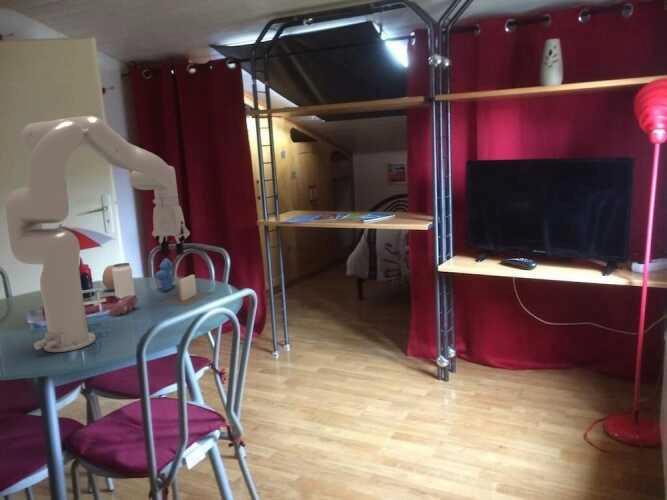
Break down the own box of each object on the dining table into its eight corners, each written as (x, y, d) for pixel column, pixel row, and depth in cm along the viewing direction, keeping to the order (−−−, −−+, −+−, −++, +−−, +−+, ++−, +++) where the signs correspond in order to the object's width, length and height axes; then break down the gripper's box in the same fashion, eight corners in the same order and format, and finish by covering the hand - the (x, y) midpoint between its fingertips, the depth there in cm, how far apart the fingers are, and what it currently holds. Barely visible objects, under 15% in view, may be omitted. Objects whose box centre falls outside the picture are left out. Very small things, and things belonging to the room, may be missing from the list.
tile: (183, 300, 176) (181, 280, 174) (180, 300, 176) (177, 280, 175) (196, 294, 183) (194, 274, 182) (193, 294, 184) (191, 274, 182)
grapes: (161, 286, 199) (158, 256, 197) (179, 286, 199) (175, 255, 197) (151, 295, 188) (147, 262, 186) (170, 294, 188) (166, 261, 186)
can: (126, 299, 183) (122, 266, 181) (111, 299, 185) (107, 266, 183) (138, 294, 189) (134, 262, 187) (124, 294, 191) (120, 262, 189)
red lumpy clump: (118, 323, 162) (125, 304, 160) (106, 316, 163) (112, 297, 161) (136, 313, 172) (142, 295, 170) (124, 307, 172) (130, 289, 170)
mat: (189, 306, 170) (189, 305, 170) (158, 305, 174) (158, 303, 174) (215, 293, 185) (214, 292, 185) (185, 292, 189) (185, 291, 189)
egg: (101, 290, 199) (98, 266, 197) (119, 286, 203) (116, 262, 201) (107, 293, 194) (104, 268, 192) (126, 289, 198) (122, 264, 196)
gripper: (139, 204, 177) (145, 256, 180) (182, 203, 172) (188, 256, 175) (152, 201, 184) (159, 252, 187) (194, 200, 179) (200, 252, 182)
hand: (173, 253), depth 181 cm, fingers open, 5 cm apart
